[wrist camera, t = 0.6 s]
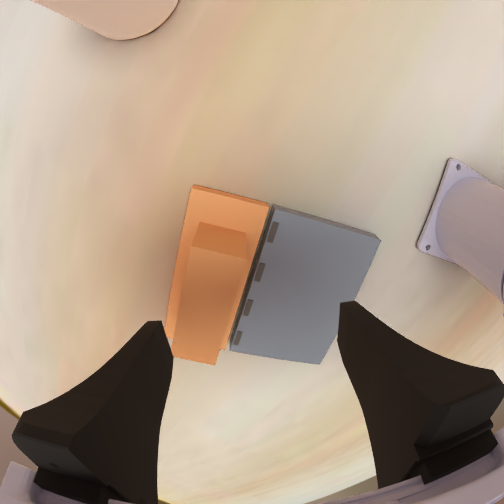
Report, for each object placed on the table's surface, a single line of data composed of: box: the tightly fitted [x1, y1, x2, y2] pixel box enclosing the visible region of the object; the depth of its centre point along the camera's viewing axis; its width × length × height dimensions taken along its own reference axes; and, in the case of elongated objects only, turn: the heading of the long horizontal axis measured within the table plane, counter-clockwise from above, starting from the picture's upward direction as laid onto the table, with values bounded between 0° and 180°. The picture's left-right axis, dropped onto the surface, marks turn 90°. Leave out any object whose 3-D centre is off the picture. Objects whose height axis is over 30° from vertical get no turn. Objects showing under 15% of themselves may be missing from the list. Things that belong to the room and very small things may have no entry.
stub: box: [165, 185, 269, 365], centre depth 20 cm, size 5×12×5 cm, turn 164°
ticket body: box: [230, 205, 381, 364], centre depth 22 cm, size 8×12×1 cm, turn 164°
